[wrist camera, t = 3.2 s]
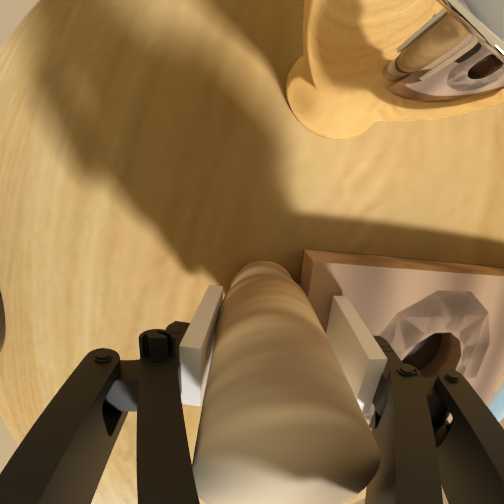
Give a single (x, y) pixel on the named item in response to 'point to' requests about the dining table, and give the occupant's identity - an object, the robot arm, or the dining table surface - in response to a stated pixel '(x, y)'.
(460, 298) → the board
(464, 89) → the metal cup
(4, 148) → the dining table surface
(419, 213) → the dining table surface
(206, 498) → the peg
